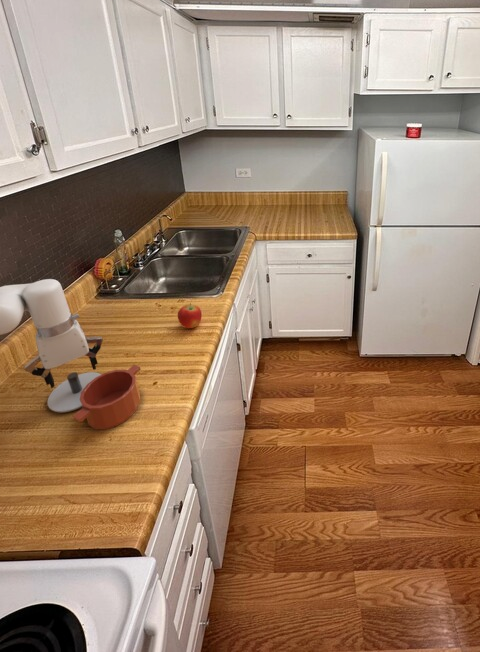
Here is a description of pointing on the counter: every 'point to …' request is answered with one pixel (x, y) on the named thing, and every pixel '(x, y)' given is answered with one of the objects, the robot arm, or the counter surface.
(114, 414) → the saucepan
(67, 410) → the pan lid
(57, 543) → the counter surface
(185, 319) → the apple
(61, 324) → the robot arm
